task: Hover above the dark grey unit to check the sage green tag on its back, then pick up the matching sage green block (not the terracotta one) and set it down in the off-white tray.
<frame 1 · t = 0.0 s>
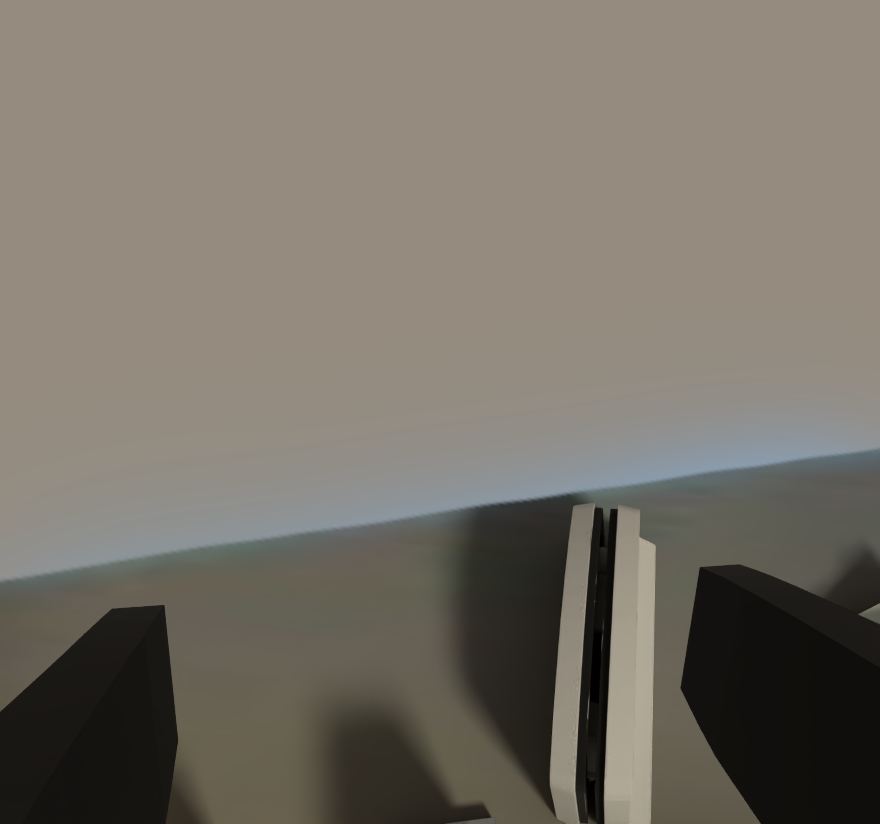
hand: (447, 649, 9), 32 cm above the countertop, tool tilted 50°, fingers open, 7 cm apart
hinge: (586, 668, 42), on the countertop
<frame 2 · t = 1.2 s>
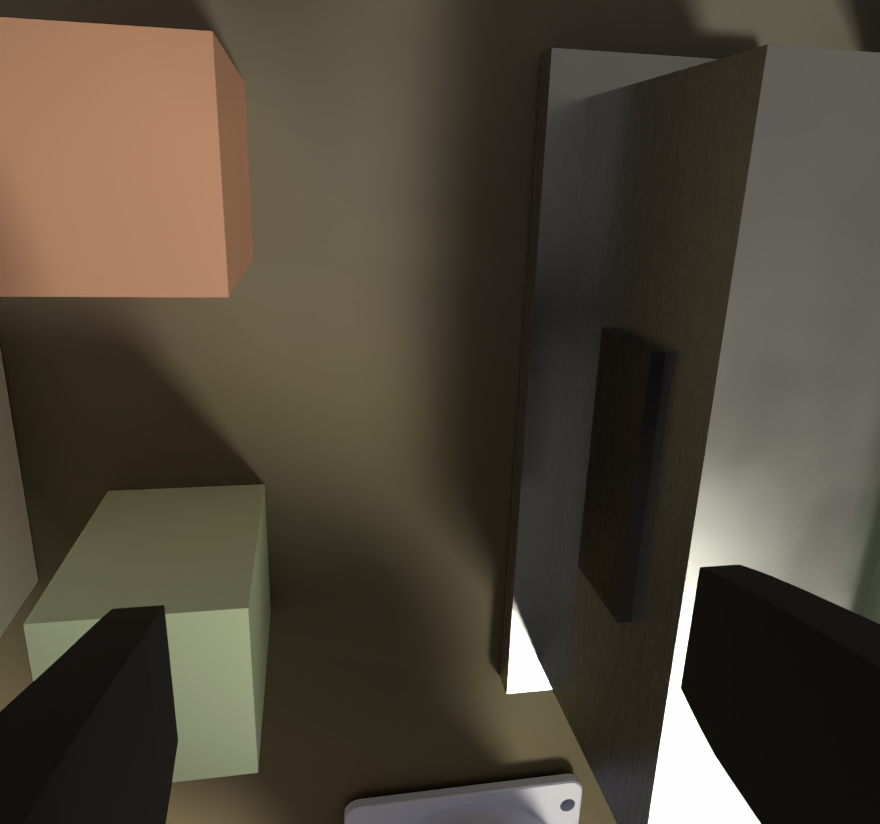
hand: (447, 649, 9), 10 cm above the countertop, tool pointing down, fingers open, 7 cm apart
terracotta block: (160, 171, 17), on the countertop
grey unit: (618, 405, 20), on the countertop
sage green block: (193, 553, 20), on the countertop
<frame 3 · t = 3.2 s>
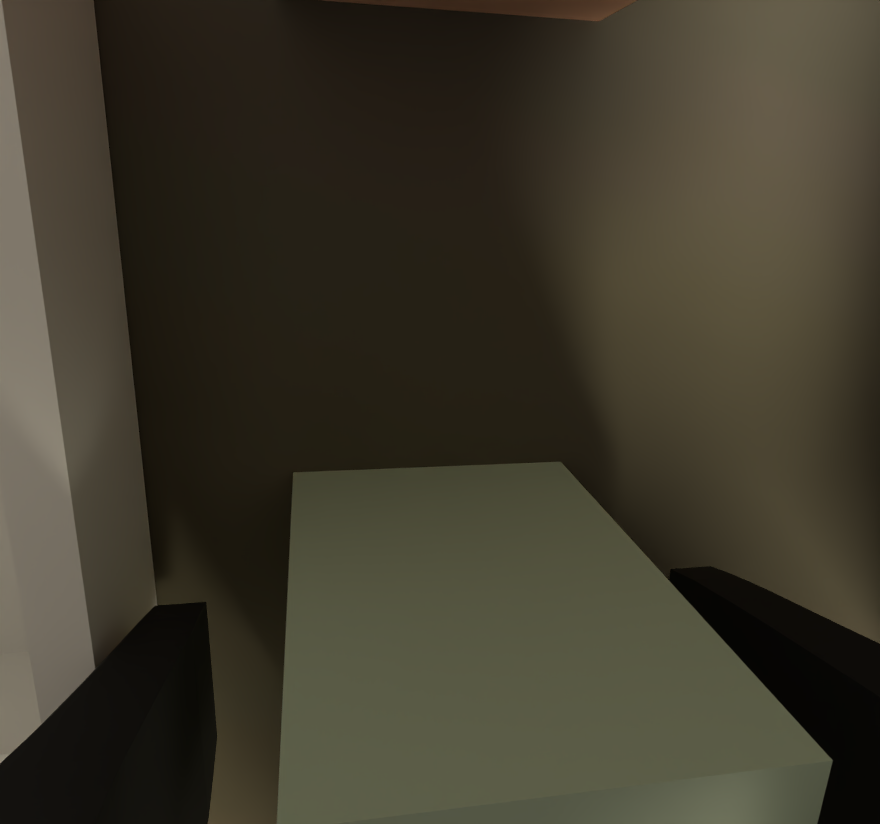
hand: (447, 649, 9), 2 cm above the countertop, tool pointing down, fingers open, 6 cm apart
sage green block: (427, 585, 11), on the countertop
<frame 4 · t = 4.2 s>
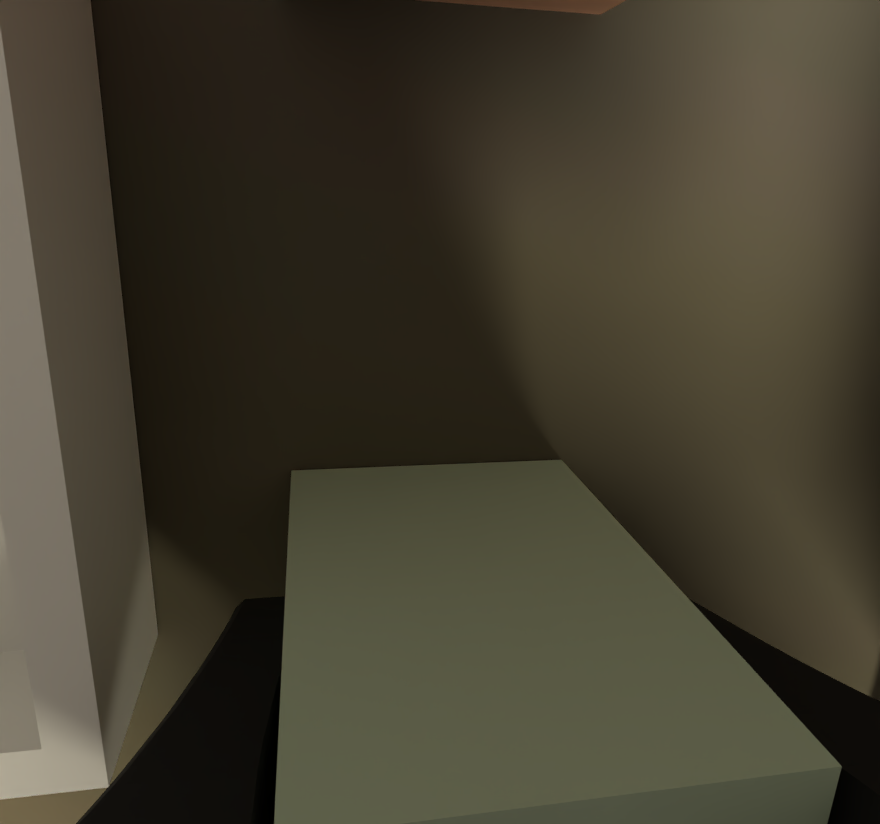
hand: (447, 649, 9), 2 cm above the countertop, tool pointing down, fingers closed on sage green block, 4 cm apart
sage green block: (427, 584, 11), on the countertop, touching gripper
when the fingers open (4 cm above the countertop, at t = 7.6 s): sage green block drops 2 cm, resting on off-white tray.
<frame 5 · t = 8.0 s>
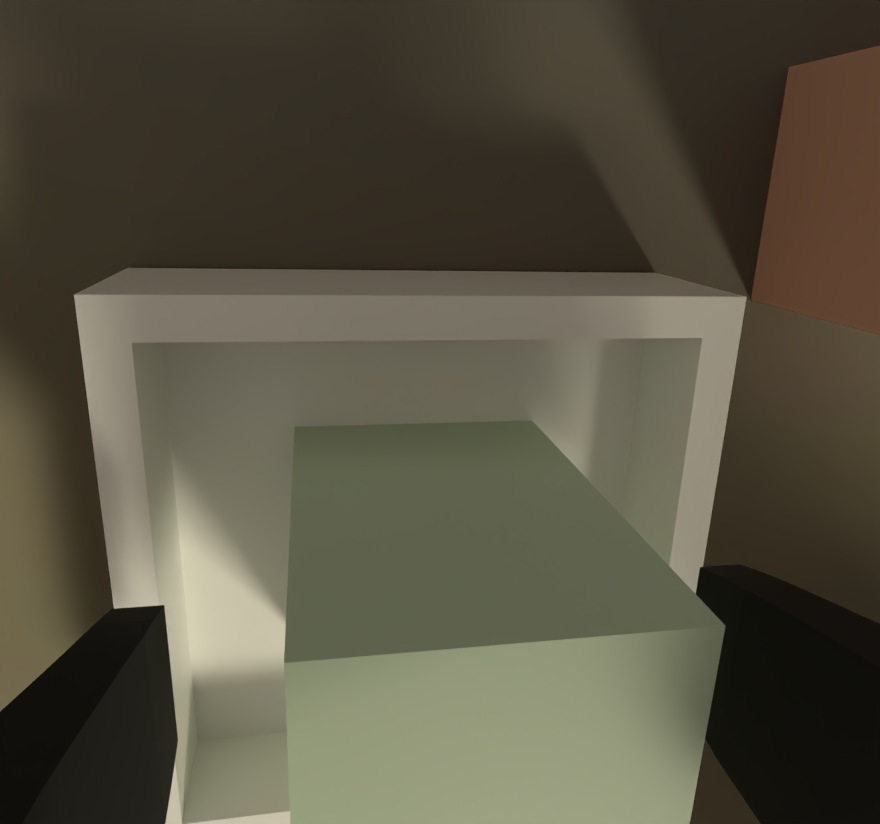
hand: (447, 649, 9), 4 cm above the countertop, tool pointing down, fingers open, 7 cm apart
terracotta block: (865, 192, 13), on the countertop
sage green block: (414, 531, 12), point 1 cm above the countertop, touching off-white tray
off-white tray: (405, 511, 13), on the countertop
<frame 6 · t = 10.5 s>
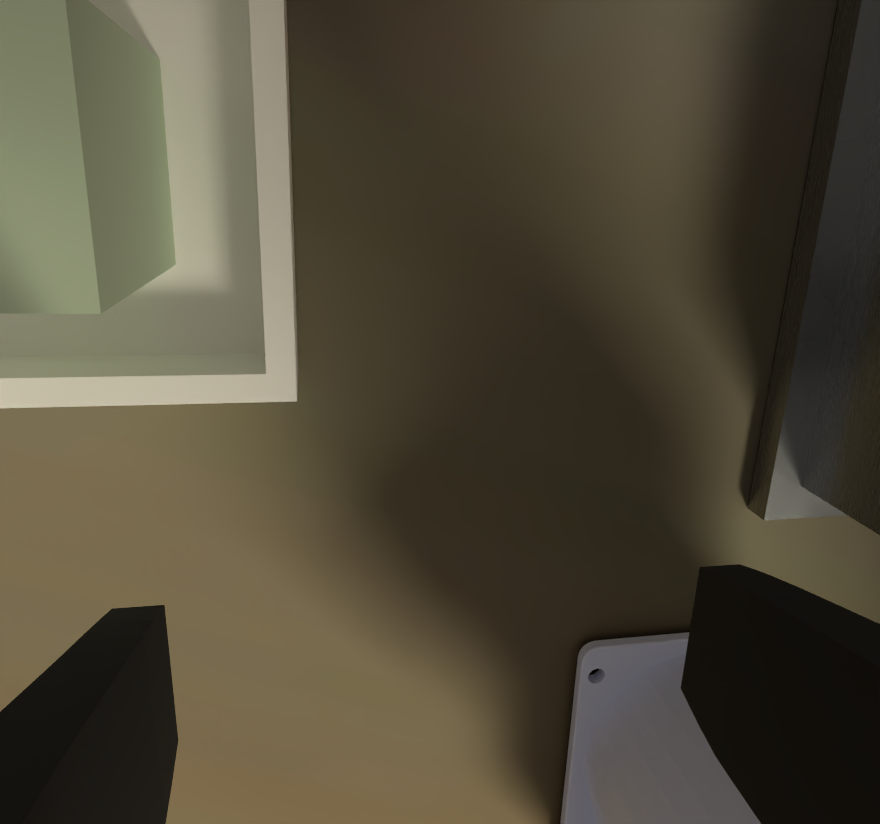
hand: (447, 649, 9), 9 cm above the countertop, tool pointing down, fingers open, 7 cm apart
sage green block: (63, 162, 14), point 1 cm above the countertop, touching off-white tray
off-white tray: (78, 168, 15), on the countertop
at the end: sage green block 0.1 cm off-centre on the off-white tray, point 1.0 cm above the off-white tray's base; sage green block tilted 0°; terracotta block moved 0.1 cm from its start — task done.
